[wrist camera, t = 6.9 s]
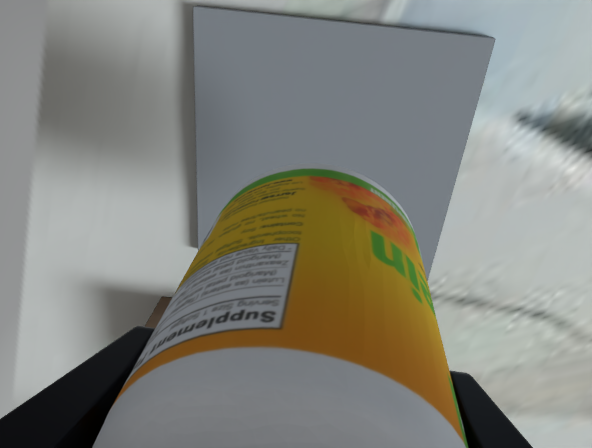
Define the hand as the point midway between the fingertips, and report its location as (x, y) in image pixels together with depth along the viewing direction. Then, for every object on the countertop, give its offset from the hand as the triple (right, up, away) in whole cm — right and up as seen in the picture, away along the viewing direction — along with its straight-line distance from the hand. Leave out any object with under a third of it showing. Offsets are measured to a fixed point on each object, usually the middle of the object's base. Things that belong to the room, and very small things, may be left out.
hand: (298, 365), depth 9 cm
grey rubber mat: (+1, +5, +9) cm, 11 cm away
